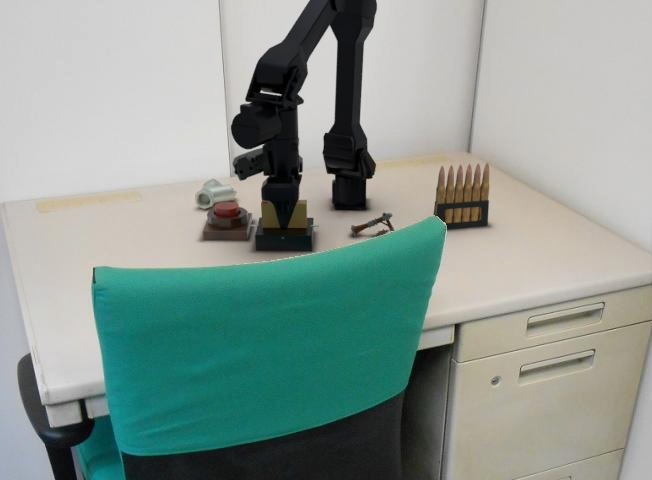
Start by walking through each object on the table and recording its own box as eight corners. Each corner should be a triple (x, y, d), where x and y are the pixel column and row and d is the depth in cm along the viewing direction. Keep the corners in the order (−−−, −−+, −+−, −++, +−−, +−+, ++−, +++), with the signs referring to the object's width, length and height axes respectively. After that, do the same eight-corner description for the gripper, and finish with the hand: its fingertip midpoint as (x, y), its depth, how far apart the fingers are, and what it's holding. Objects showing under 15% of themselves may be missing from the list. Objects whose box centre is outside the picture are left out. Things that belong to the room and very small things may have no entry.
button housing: (252, 221, 161) (251, 203, 159) (247, 240, 153) (246, 222, 151) (210, 220, 161) (209, 203, 159) (203, 240, 153) (201, 221, 151)
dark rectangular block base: (319, 230, 158) (319, 213, 156) (318, 254, 148) (317, 237, 146) (255, 229, 158) (254, 213, 156) (248, 254, 147) (247, 237, 146)
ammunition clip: (484, 222, 163) (490, 161, 156) (487, 226, 161) (493, 164, 155) (432, 226, 160) (435, 164, 154) (435, 230, 159) (439, 167, 152)
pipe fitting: (237, 199, 173) (205, 195, 173) (238, 181, 171) (205, 177, 171) (228, 212, 166) (195, 208, 166) (228, 193, 164) (195, 189, 164)
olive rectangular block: (307, 223, 152) (306, 198, 150) (306, 228, 150) (306, 202, 148) (263, 223, 152) (261, 198, 149) (262, 227, 150) (260, 202, 147)
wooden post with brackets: (399, 233, 154) (390, 211, 152) (359, 248, 156) (350, 227, 154) (400, 230, 156) (390, 208, 154) (360, 245, 158) (351, 224, 156)
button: (240, 210, 157) (240, 201, 156) (238, 218, 154) (237, 209, 153) (217, 210, 157) (216, 201, 156) (214, 218, 153) (213, 209, 153)
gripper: (239, 121, 150) (245, 205, 158) (227, 150, 134) (234, 242, 143) (302, 121, 150) (304, 206, 159) (297, 151, 135) (299, 242, 143)
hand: (284, 223), depth 151 cm, fingers open, 6 cm apart
